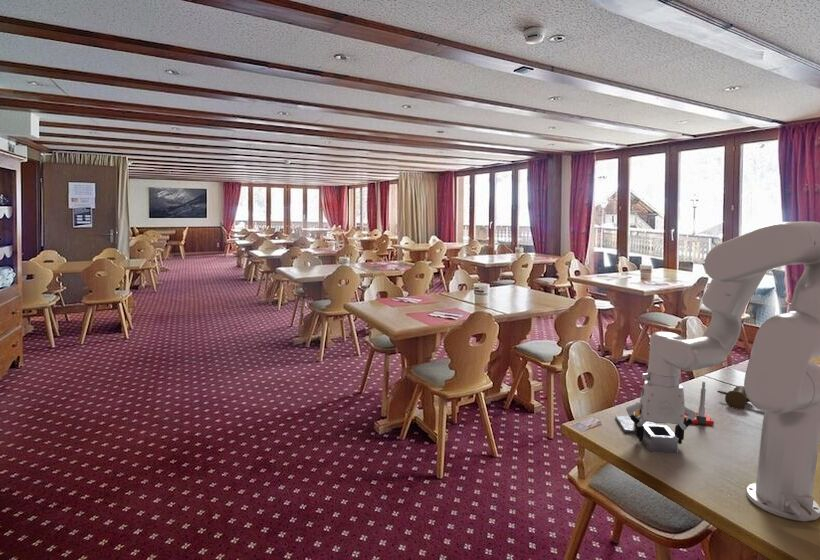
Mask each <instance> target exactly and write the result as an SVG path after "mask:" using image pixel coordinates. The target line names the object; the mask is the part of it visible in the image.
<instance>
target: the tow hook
mask: <svg viewBox="0 0 820 560" xmlns="http://www.w3.org/2000/svg"><path fill="white" fill-rule="evenodd" d="M699 398H700V399H699V406H698V411H695V410H693V411H694V412H695V413H696V414H697V416H696V417H695V419H694V420H693V421H692V424H691V425H701V426H702V425H703V426H706V425H707V426H714V424H715V422H714V420H713V419H712V418H711V416H709V415H708V414H706V413H705V411H706V406H705V404H706V403H705V402H706V381H702V384H701V388H700V397H699ZM686 417H688V414H687V413H685V416H684V419H685V418H686Z"/></svg>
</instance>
